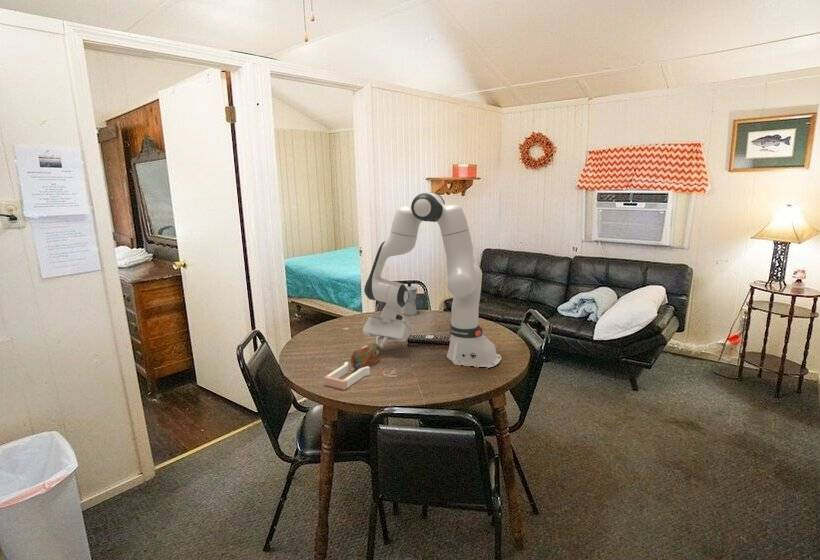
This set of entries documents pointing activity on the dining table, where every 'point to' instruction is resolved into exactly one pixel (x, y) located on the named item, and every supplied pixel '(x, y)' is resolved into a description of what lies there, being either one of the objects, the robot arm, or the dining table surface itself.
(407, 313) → the coffee maker
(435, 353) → the dining table surface
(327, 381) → the guide channel
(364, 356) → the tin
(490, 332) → the dining table surface
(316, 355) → the dining table surface
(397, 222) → the robot arm
